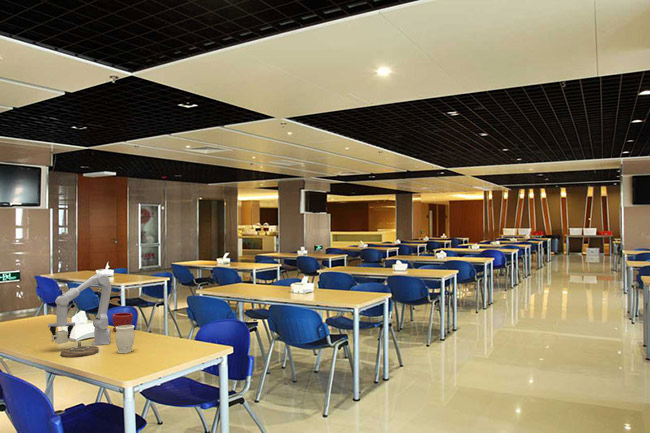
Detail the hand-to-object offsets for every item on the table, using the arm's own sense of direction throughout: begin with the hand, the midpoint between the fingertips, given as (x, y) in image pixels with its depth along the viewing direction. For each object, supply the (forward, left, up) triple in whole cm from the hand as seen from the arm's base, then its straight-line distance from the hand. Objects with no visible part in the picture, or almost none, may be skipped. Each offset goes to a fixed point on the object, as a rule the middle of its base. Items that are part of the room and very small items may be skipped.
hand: (61, 338), depth 293 cm
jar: (-37, +16, -7) cm, 41 cm away
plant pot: (-29, -48, -7) cm, 57 cm away
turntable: (-12, +11, -7) cm, 18 cm away
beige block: (+1, +1, -2) cm, 3 cm away
